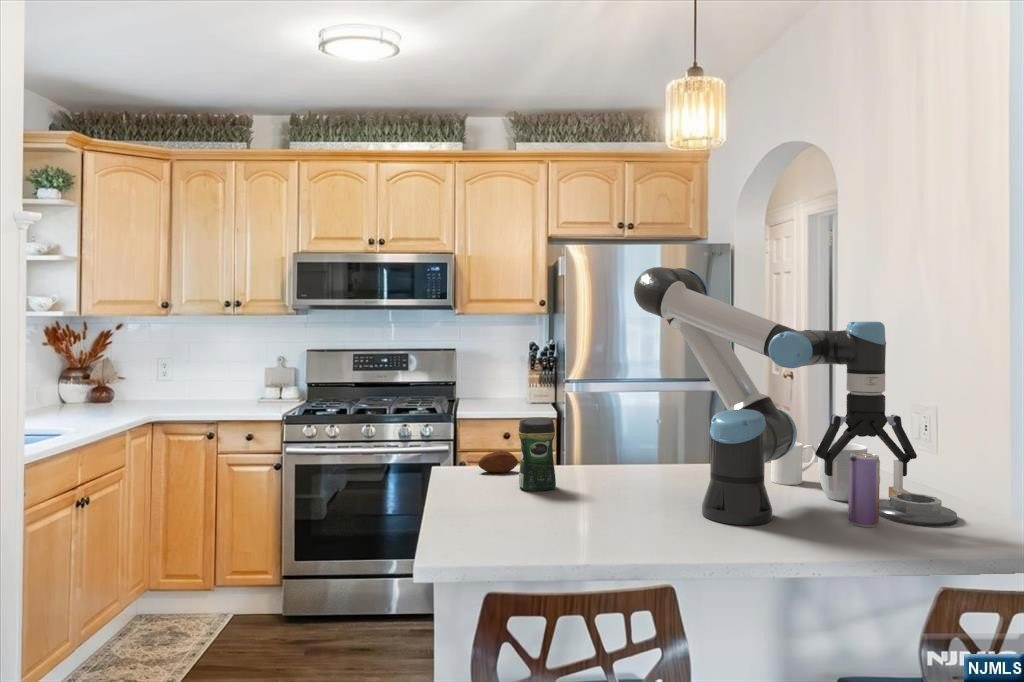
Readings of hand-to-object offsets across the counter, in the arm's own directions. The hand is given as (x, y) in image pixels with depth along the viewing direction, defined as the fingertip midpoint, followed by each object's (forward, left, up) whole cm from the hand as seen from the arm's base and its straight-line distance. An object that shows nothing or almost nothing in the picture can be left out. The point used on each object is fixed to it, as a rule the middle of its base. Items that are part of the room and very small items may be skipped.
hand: (865, 491), depth 157 cm
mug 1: (-3, +39, -7) cm, 40 cm away
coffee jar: (-72, +27, -7) cm, 78 cm away
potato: (-84, +45, -8) cm, 96 cm away
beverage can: (0, 0, -7) cm, 7 cm away
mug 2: (+4, +21, -7) cm, 23 cm away
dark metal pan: (+14, +9, -7) cm, 18 cm away
